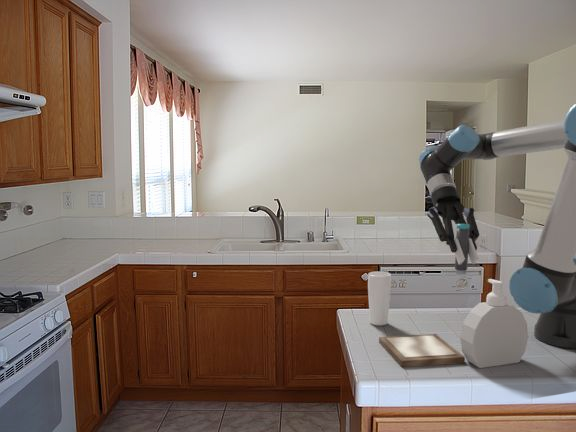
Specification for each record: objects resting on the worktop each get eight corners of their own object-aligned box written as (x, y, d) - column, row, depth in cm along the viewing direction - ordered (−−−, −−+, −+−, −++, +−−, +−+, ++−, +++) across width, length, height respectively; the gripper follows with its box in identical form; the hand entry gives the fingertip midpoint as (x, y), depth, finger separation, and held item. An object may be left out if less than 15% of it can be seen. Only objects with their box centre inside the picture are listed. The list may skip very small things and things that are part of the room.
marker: (463, 271, 141) (465, 223, 139) (469, 274, 138) (471, 225, 136) (452, 272, 141) (454, 223, 139) (458, 274, 138) (460, 225, 136)
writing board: (435, 339, 140) (435, 333, 139) (464, 362, 124) (464, 356, 124) (378, 342, 137) (379, 336, 137) (401, 366, 121) (401, 360, 121)
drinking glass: (390, 327, 149) (391, 277, 147) (366, 326, 150) (367, 275, 148) (390, 320, 155) (391, 271, 153) (367, 318, 157) (368, 270, 155)
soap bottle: (511, 353, 130) (516, 276, 127) (527, 361, 125) (532, 281, 122) (457, 361, 125) (461, 281, 123) (471, 370, 120) (475, 286, 118)
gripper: (465, 200, 153) (491, 268, 139) (413, 201, 151) (434, 269, 137) (474, 184, 147) (503, 252, 133) (421, 184, 145) (444, 254, 131)
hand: (468, 261), depth 135 cm, fingers closed on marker, 3 cm apart
